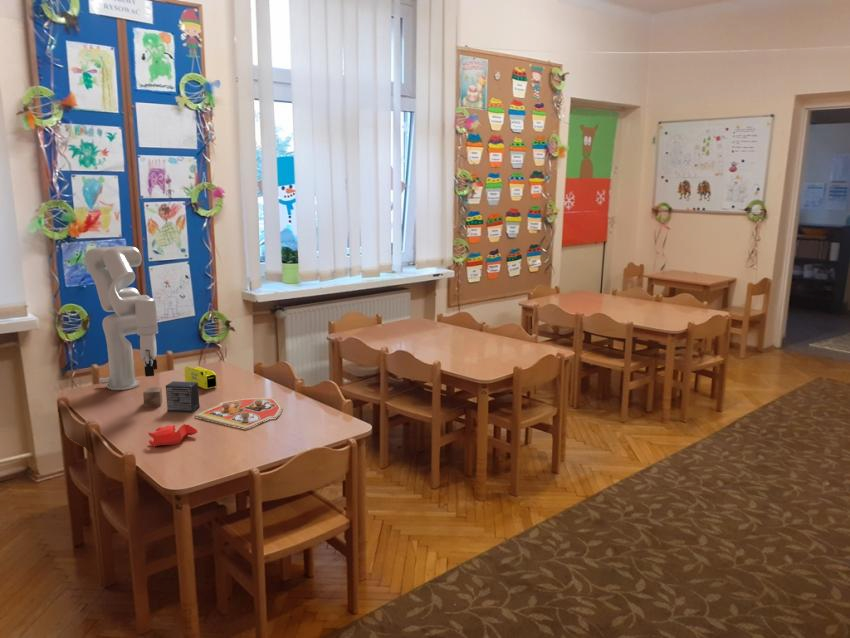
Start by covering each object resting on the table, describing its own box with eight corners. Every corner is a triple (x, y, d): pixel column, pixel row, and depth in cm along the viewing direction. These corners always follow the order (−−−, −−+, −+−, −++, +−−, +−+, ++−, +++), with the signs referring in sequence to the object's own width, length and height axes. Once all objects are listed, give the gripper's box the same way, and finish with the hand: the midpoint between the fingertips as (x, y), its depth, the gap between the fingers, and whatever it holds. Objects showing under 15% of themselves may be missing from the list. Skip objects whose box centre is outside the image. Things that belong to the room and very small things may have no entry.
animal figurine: (202, 439, 229) (201, 425, 228) (160, 451, 218) (160, 437, 217) (185, 430, 236) (184, 417, 235) (144, 441, 225) (143, 427, 224)
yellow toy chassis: (184, 383, 287) (183, 365, 286) (196, 380, 292) (194, 362, 290) (206, 391, 278) (204, 372, 276) (217, 388, 282) (216, 369, 280)
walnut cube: (144, 407, 258) (143, 392, 257) (146, 402, 264) (145, 388, 262) (160, 406, 259) (159, 391, 258) (162, 401, 265) (161, 387, 264)
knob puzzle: (191, 418, 248) (190, 407, 247) (246, 396, 274) (245, 385, 273) (250, 433, 235) (250, 421, 234) (302, 407, 260) (302, 397, 259)
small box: (200, 407, 259) (198, 381, 257) (193, 412, 253) (191, 386, 250) (174, 405, 260) (172, 380, 258) (166, 411, 254) (164, 385, 251)
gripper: (140, 326, 262) (144, 367, 265) (133, 335, 246) (138, 379, 249) (160, 325, 264) (164, 366, 267) (155, 334, 248) (159, 377, 251)
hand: (151, 372), depth 258 cm, fingers open, 9 cm apart
